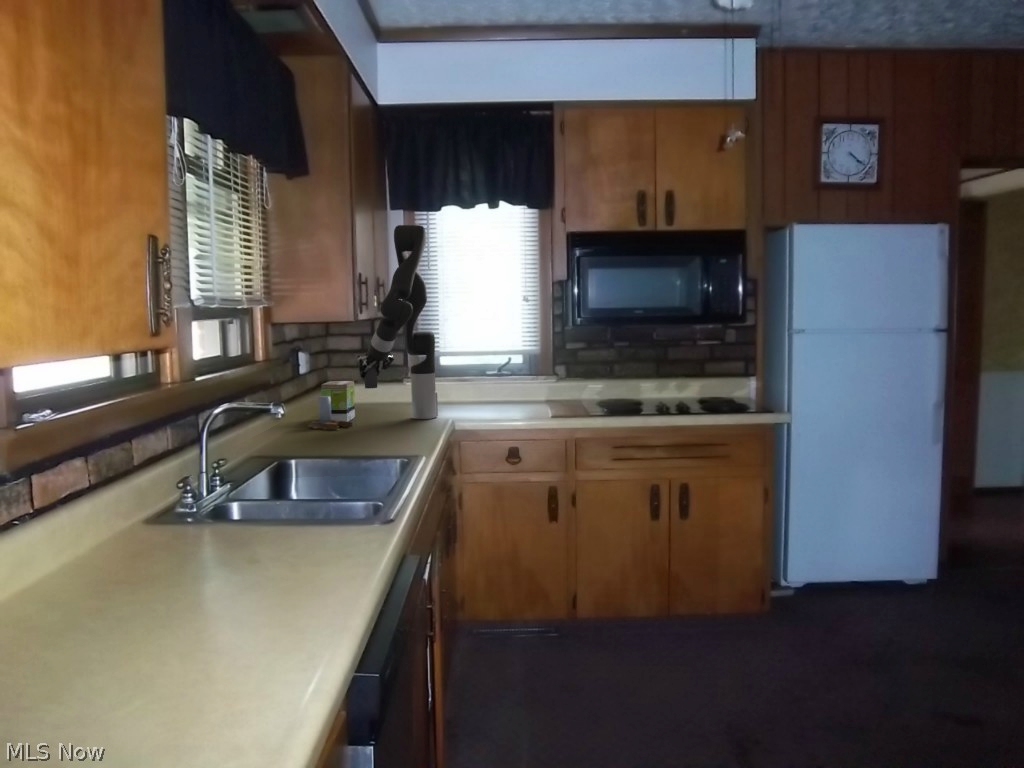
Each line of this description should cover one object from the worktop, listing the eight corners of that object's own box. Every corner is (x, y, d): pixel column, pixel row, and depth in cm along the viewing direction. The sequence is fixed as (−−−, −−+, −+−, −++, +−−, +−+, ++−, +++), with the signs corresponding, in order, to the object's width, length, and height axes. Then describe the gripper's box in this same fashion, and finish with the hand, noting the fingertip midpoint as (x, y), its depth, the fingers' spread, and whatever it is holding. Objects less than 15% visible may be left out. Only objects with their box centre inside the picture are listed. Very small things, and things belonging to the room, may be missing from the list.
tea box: (348, 423, 302) (346, 383, 301) (321, 423, 302) (319, 384, 301) (355, 417, 317) (354, 379, 316) (330, 418, 317) (328, 380, 316)
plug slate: (325, 425, 296) (324, 395, 295) (334, 426, 294) (333, 396, 293) (316, 427, 292) (315, 397, 291) (325, 428, 290) (323, 397, 289)
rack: (325, 424, 299) (325, 418, 299) (352, 427, 291) (352, 421, 291) (309, 427, 292) (308, 421, 292) (335, 430, 284) (335, 423, 284)
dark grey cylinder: (371, 386, 295) (369, 356, 294) (380, 387, 293) (379, 356, 291) (362, 388, 291) (360, 357, 290) (371, 388, 289) (370, 357, 288)
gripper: (396, 335, 288) (382, 367, 299) (359, 336, 280) (346, 369, 291) (404, 350, 284) (389, 382, 295) (366, 352, 276) (353, 385, 287)
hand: (368, 376), depth 293 cm, fingers closed on dark grey cylinder, 4 cm apart
